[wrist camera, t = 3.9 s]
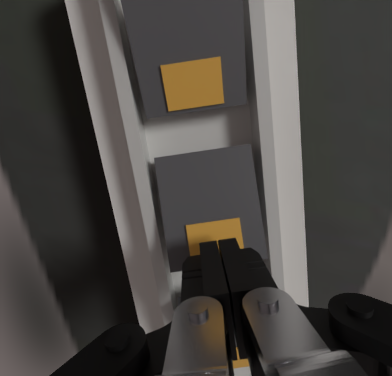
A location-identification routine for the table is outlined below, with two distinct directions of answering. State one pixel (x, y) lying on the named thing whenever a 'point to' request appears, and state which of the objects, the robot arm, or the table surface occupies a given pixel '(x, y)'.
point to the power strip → (195, 147)
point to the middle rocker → (209, 201)
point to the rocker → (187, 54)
